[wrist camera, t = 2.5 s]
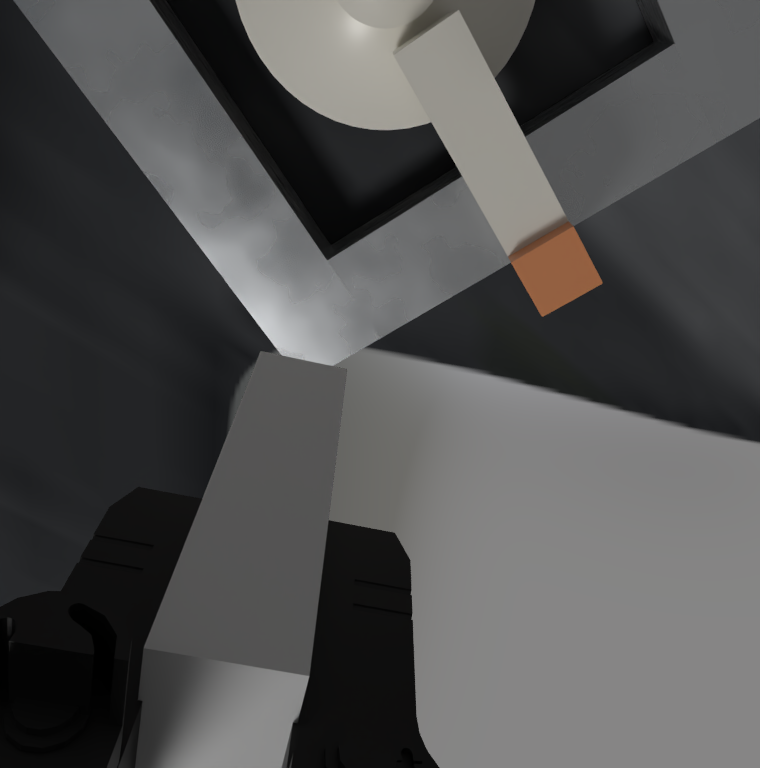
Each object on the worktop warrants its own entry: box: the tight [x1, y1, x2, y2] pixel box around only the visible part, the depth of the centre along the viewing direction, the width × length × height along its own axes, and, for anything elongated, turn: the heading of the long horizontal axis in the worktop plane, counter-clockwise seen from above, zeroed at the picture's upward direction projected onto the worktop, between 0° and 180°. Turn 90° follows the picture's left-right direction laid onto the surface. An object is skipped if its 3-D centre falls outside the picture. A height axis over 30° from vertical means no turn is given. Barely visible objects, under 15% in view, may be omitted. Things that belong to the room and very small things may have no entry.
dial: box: [236, 0, 603, 317], centre depth 22 cm, size 15×9×6 cm, turn 32°
